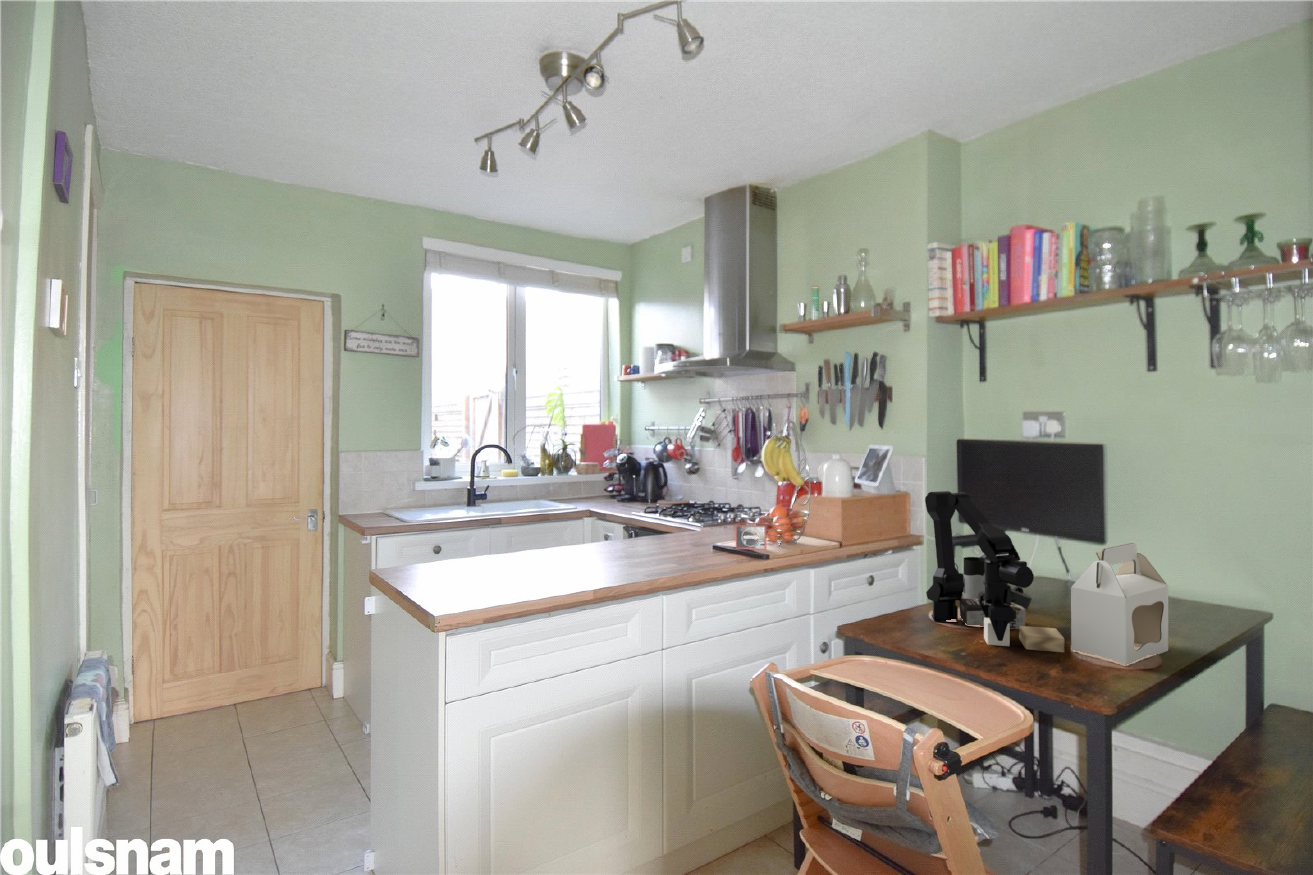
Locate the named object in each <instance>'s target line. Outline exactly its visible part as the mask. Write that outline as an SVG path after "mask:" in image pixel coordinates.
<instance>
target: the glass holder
mask: <svg viewBox="0 0 1313 875" xmlns="http://www.w3.org/2000/svg"><path fill="white" fill-rule="evenodd" d="M980 557H981V556H967V557H966V556H965V557H963V561H962V562H963V573H962V574H963V576H964V585H965V587H964V591H963V593H962V597H961V598H964V599H978V594H979V593H980V592H981V591H985V586H984V584H983V581H985V561H981V560H979V558H980ZM955 568H956V569H957V571H958V572H959V566H958V564H957V563H956V562H955Z"/></svg>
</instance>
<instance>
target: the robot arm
mask: <svg viewBox="0 0 1313 875" xmlns="http://www.w3.org/2000/svg"><path fill="white" fill-rule="evenodd" d="M924 503H925V508H926V512H927V514H928V515H929V516H930V518H931V519H932V522H933V530H934V531H933V532H934V541H935V543H934V544H935V551H936V552H935V553H936V563H937V564H936V566H937V567H936V570H935V571H934V574H933V575H932V585H931V586H930V587H929V588H928V590H927V591H926V597H927V600H930V601H932V614H931V618H932V620H933V621H934V622H937V623H939V622H940V623H942V622H941V621H946V620H951V619H957V620H958V619H959V618H958V616H959V613H958V612H959V608H958V607H959V606H958V605H957V602H956V601H960V600H961V598H962V594H963V591H964V587H965V585H964V576H963V573H962V572H959V570H958V571H957V567H956V565H955V563H956V560H955V551H954V539H953V530H952V528H953V527H952V518H953V516H954V515H955V513H956V511H957V513H958V514H959V515H960V517H961V518H962V519H963V520H964V522H965V523H966V524H967V525H968V527H969V528H970V529H971V530H972V531H973V533H974V534H975V536H976V538H975V539H976V540H975V541H976V543H977V545H978V548H979V549H980V551H981V552H982V555H981V556H979V557H980V558H979V560H981V561H985V581H983V584H984V586H985V591H981V592H980V593H979V594H978V601H979V602H980V603H979V604H980V606H981V608H982V611H983V613H984V615H985V617H986V618H989V619H990V622H991V624H992V627H993V629H994V632H995V634H996V637H997V639H998V641H1003V637H1004V634H1005V631H1006V628H1007V625H1008V623H1010V622H1011V621H1014V620H1015V619H1016V611H1015V610H1014V609H1013V608H1012V607H1011V606H1010V605H1011V602H1012V603H1014V604H1017V605H1019V606H1022V607H1023V608H1024V609H1025V610H1028V609H1029V606H1031V602H1032V601H1033V598H1032V597H1031V596H1030V595H1029V594H1027V593H1025V592H1024V589H1025V588H1026V589H1027V588H1029V587H1030V586H1031V585H1032V584H1033V582H1034V578H1035V575H1034V572H1033V570H1032V569H1031V567H1029V566H1028V562H1027V561H1026V560H1025V561H1024V560H1021V557H1020V555H1019V552H1018V551H1017V550H1016V548H1015V545H1014V544H1013V540H1012V539H1011V537H1010V536H1009V535H1008V534H1007V533H1006V532H1005V531H1004V530H1002V529H1000V528H999V527H996V526H995V525H993V524H991V522H990V521H989V520H988V519H987V518H986V517H985V515H984V514H983V513H982V511H980V509H978V507H977V506H976V505H975V504H974V502H973V501H972V500H971V497H970V496H969V494H968V493H966V492H951V491H949V490H943V491H940V490H939V491H930V492H928V493H927V494H926V496H925V499H924ZM1011 585H1013V586H1014V587H1013V588H1012V587H1011ZM982 601H983V603H982ZM1004 604H1007V605H1004Z"/></svg>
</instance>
